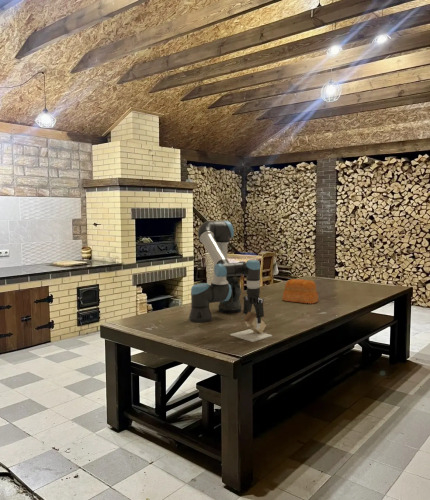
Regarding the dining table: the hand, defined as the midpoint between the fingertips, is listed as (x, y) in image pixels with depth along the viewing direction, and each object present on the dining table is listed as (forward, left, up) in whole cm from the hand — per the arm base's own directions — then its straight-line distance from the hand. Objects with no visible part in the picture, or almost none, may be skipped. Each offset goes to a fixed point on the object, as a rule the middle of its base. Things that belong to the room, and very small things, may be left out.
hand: (253, 327), depth 250 cm
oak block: (0, +5, -2) cm, 6 cm away
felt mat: (0, -2, -4) cm, 5 cm away
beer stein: (-53, +33, -5) cm, 63 cm away
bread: (-41, +95, -5) cm, 104 cm away
